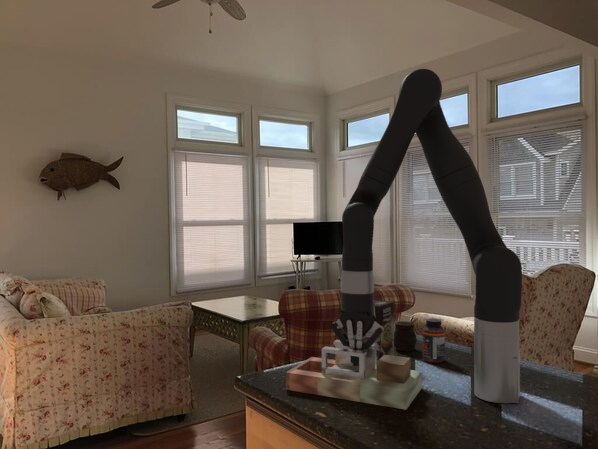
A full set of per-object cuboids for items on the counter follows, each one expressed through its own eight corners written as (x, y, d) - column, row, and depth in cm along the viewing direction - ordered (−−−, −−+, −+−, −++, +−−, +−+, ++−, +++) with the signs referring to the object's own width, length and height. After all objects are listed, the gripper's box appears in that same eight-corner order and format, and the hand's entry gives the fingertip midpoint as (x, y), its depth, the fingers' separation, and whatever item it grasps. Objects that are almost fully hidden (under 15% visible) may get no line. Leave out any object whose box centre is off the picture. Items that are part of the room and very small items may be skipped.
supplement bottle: (418, 358, 139) (418, 318, 139) (436, 356, 141) (436, 316, 141) (430, 364, 133) (430, 322, 133) (449, 362, 135) (449, 321, 135)
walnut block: (410, 375, 111) (410, 357, 111) (403, 383, 106) (403, 365, 106) (384, 372, 114) (384, 354, 114) (376, 379, 109) (376, 361, 109)
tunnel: (376, 368, 117) (376, 343, 117) (363, 380, 109) (363, 353, 109) (336, 363, 121) (336, 339, 121) (321, 373, 113) (321, 348, 113)
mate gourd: (395, 345, 154) (396, 313, 153) (420, 348, 150) (420, 315, 150) (388, 350, 147) (389, 317, 147) (414, 354, 144) (414, 319, 144)
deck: (421, 388, 115) (421, 371, 115) (406, 409, 102) (406, 390, 102) (311, 372, 127) (311, 356, 127) (285, 389, 115) (285, 372, 115)
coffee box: (379, 367, 131) (379, 306, 131) (358, 362, 135) (358, 303, 135) (395, 359, 139) (394, 301, 138) (374, 355, 143) (374, 299, 142)
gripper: (390, 289, 114) (389, 364, 114) (336, 286, 120) (336, 357, 120) (380, 294, 107) (380, 374, 108) (324, 290, 113) (324, 365, 114)
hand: (357, 365), depth 114 cm, fingers closed
